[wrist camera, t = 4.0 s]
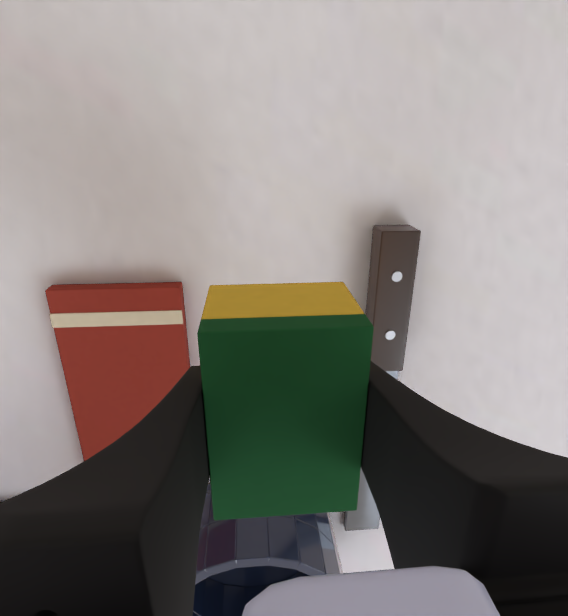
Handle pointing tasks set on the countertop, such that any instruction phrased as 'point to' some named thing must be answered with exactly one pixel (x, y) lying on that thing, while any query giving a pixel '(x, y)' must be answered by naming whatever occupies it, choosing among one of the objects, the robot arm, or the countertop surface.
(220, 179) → the countertop surface
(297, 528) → the pot
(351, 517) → the knife
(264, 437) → the sponge
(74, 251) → the countertop surface
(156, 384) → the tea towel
